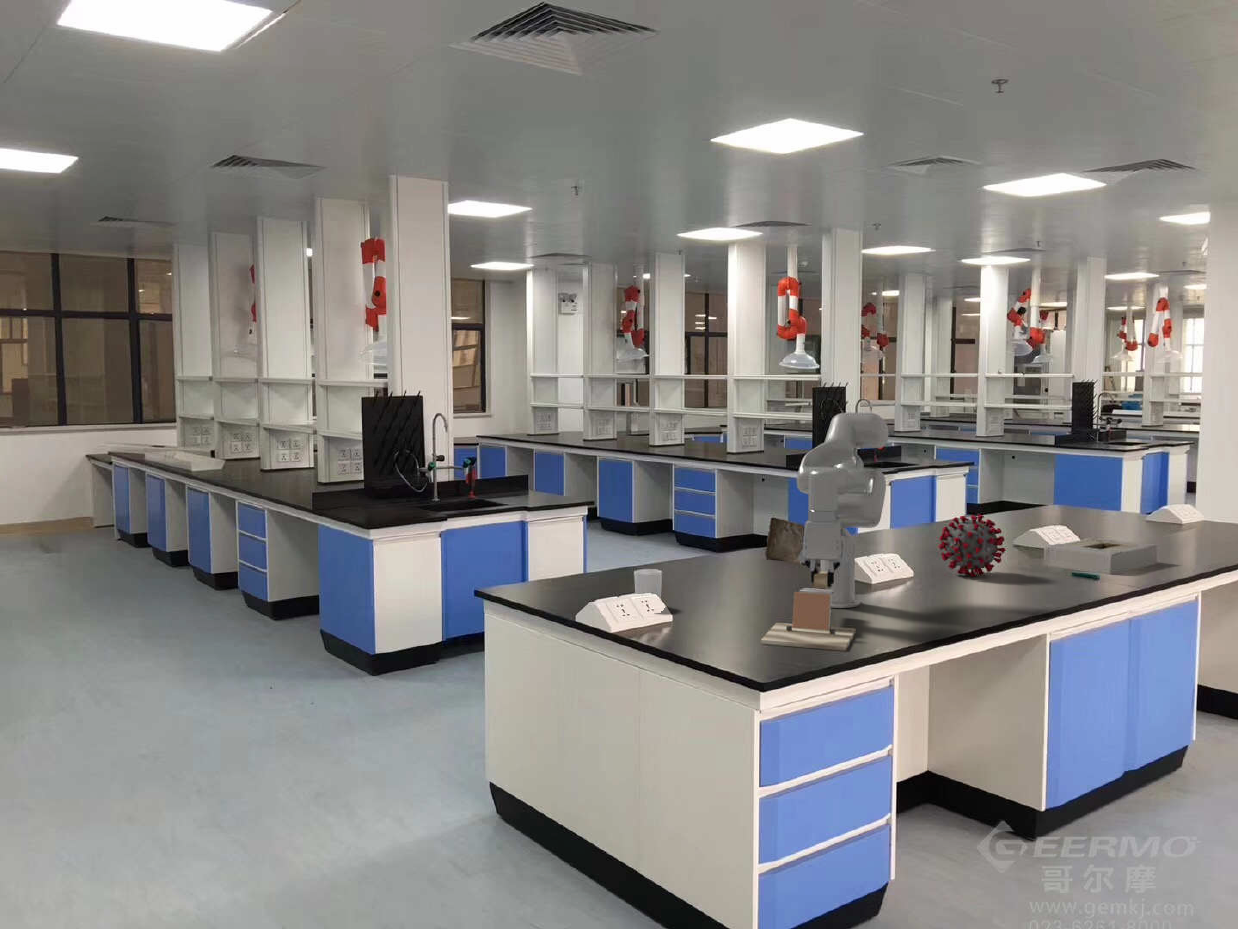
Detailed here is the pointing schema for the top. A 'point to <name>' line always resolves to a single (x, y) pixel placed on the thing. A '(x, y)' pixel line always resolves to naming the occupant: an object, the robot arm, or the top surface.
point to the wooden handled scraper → (819, 585)
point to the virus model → (971, 545)
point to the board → (809, 637)
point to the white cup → (648, 581)
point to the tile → (811, 611)
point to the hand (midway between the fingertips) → (822, 585)
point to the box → (1100, 555)
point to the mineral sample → (784, 540)
